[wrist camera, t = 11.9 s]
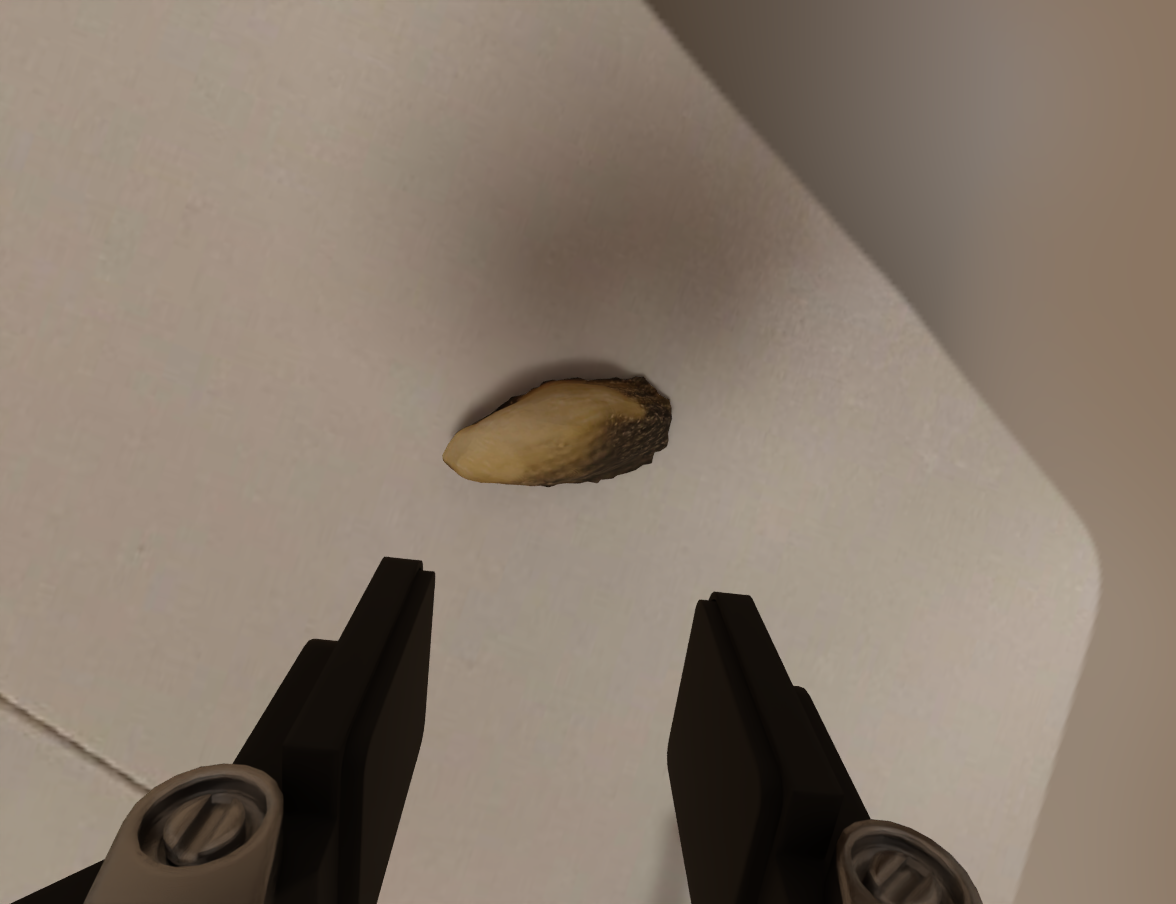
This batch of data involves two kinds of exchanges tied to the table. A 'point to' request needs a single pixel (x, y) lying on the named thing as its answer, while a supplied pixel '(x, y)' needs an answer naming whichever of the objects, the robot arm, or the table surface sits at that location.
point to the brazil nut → (564, 434)
